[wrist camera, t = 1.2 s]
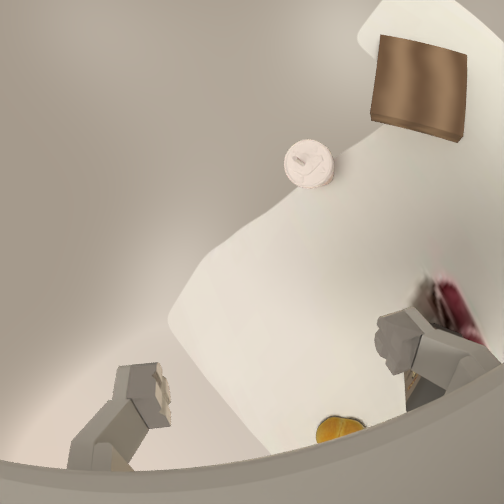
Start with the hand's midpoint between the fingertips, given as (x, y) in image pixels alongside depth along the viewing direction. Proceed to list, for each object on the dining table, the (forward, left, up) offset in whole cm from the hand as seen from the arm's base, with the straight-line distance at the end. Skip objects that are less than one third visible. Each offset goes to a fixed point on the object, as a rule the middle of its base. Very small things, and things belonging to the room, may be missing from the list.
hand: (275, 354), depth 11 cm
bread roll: (-8, +32, -40) cm, 51 cm away
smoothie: (+8, -10, -39) cm, 42 cm away
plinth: (-5, -27, -39) cm, 48 cm away
